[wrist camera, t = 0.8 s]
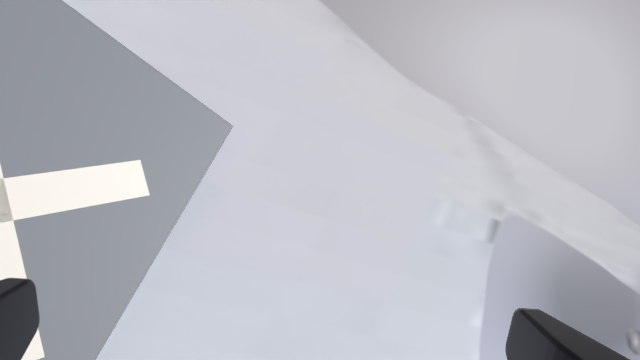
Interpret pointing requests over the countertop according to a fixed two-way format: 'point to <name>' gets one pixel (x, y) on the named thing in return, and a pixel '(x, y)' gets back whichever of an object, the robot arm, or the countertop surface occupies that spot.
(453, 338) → the countertop surface
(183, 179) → the board
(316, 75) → the countertop surface
